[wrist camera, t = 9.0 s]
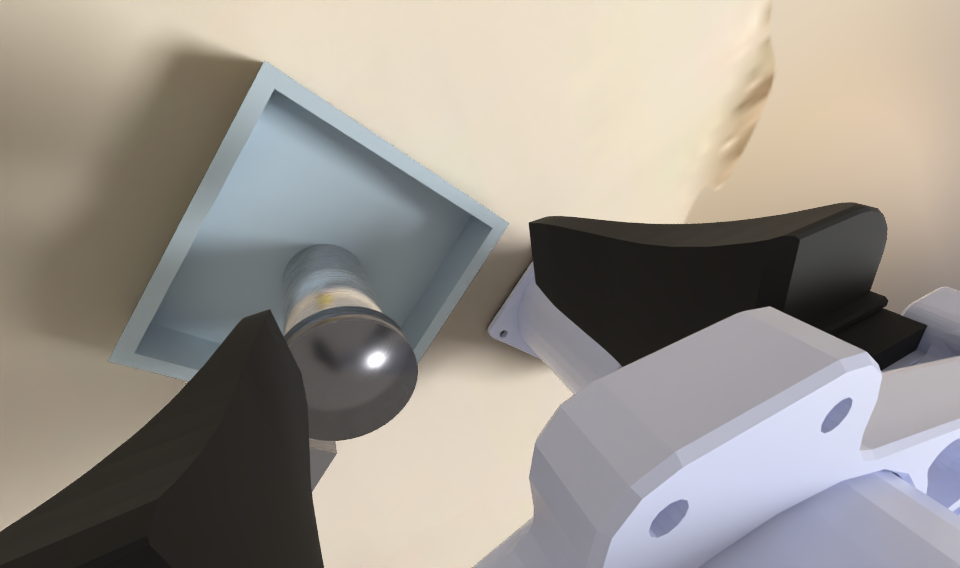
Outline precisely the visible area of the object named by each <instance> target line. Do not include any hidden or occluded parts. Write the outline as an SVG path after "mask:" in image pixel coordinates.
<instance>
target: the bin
mask: <svg viewBox="0 0 960 568" xmlns="http://www.w3.org/2000/svg"><path fill="white" fill-rule="evenodd" d="M508 225H509V223H508V222H507V221H505V220H504V219H502V218H501V217H499V216H498V215H496V214H495V213H493V212H492V211H490V210H489V209H487V208H486V207H484V206H483V205H481V204H480V203H478V202H477V201H475V200H474V199H472V198H471V197H469V196H468V195H466V194H465V193H463V192H462V191H460V190H459V189H457V188H456V187H454V186H453V185H451V184H450V183H448V182H447V181H445V180H444V179H442V178H441V177H439V176H438V175H436V174H435V173H433V172H432V171H430V170H429V169H427V168H426V167H424V166H423V165H421V164H420V163H418V162H417V161H415V160H414V159H412V158H411V157H409V156H408V155H406V154H405V153H403V152H402V151H400V150H399V149H397V148H396V147H394V146H393V145H391V144H390V143H388V142H387V141H385V140H384V139H382V138H380V137H379V136H377V135H376V134H374V133H373V132H371V131H370V130H368V129H367V128H365V127H364V126H362V125H361V124H359V123H358V122H356V121H355V120H353V119H352V118H350V117H349V116H347V115H346V114H344V113H343V112H341V111H340V110H338V109H337V108H335V107H334V106H332V105H331V104H329V103H328V102H326V101H325V100H323V99H322V98H320V97H319V96H317V95H316V94H314V93H313V92H311V91H310V90H308V89H307V88H305V87H304V86H302V85H301V84H299V83H298V82H296V81H295V80H293V79H292V78H290V77H289V76H287V75H286V74H284V73H283V72H281V71H280V70H278V69H277V68H275V67H274V66H272V65H271V64H269V63H268V62H266V61H264V63H263V65H262V67H261V69H260V70H259V72H258V74H257V76H256V78H255V80H254V82H253V84H252V86H251V88H250V90H249V92H248V93H247V95H246V97H245V99H244V101H243V103H242V105H241V107H240V109H239V111H238V113H237V115H236V116H235V118H234V120H233V122H232V124H231V126H230V128H229V130H228V132H227V134H226V136H225V138H224V139H223V141H222V143H221V145H220V147H219V149H218V151H217V153H216V155H215V157H214V159H213V161H212V162H211V164H210V166H209V168H208V170H207V172H206V174H205V176H204V178H203V180H202V182H201V184H200V185H199V187H198V189H197V191H196V193H195V195H194V197H193V199H192V201H191V203H190V205H189V207H188V208H187V210H186V212H185V214H184V216H183V218H182V220H181V222H180V224H179V226H178V228H177V230H176V231H175V233H174V235H173V237H172V239H171V241H170V243H169V245H168V247H167V249H166V251H165V253H164V254H163V256H162V258H161V260H160V262H159V264H158V266H157V268H156V270H155V272H154V274H153V276H152V277H151V279H150V281H149V283H148V285H147V287H146V289H145V291H144V293H143V295H142V297H141V299H140V300H139V302H138V304H137V306H136V308H135V310H134V312H133V314H132V316H131V318H130V320H129V322H128V323H127V325H126V327H125V329H124V331H123V333H122V335H121V337H120V339H119V341H118V343H117V345H116V346H115V348H114V350H113V352H112V354H111V356H110V358H109V360H108V362H112V363H116V364H120V365H124V366H128V367H132V368H136V369H140V370H144V371H148V372H152V373H156V374H160V375H165V376H169V377H173V378H177V379H181V380H185V381H190V380H191V379H192V378H193V377H194V376H195V374H196V373H197V372H198V371H199V370H200V369H201V368H202V367H203V366H204V364H205V363H206V362H207V361H208V360H209V358H210V357H211V356H212V355H213V353H214V352H215V351H216V350H217V349H218V347H219V346H220V345H221V344H222V342H223V341H224V340H225V339H226V337H227V336H228V335H229V334H230V332H231V331H232V330H233V329H234V328H235V326H236V325H237V324H238V323H239V322H240V321H241V320H242V319H243V318H244V317H247V316H250V315H253V314H256V313H259V312H262V311H265V310H268V309H270V310H271V312H272V314H273V316H274V318H275V320H276V322H277V324H278V326H279V328H280V330H281V332H282V334H283V336H284V317H283V274H284V271H285V268H286V266H287V264H288V262H289V261H290V260H291V258H292V257H293V256H294V255H295V254H297V253H298V252H299V251H301V250H303V249H305V248H307V247H309V246H312V245H317V244H333V245H337V246H340V247H343V248H345V249H347V250H349V251H350V252H351V253H353V254H354V255H355V256H356V257H357V259H358V260H359V261H360V263H361V265H362V267H363V269H364V272H365V274H366V276H367V279H368V281H369V283H370V285H371V288H372V290H373V292H374V295H375V297H376V299H377V301H378V304H379V306H380V308H381V311H382V313H383V314H385V315H387V316H388V317H390V318H391V319H392V320H394V321H395V322H396V323H397V324H398V325H399V326H400V328H401V329H402V330H403V332H404V334H405V335H406V337H407V339H408V341H409V343H410V345H411V347H412V350H413V352H414V354H415V357H416V360H417V364H418V362H419V361H420V359H421V358H422V356H423V355H424V353H425V352H426V350H427V349H428V347H429V346H430V344H431V343H432V341H433V339H434V338H435V336H436V335H437V333H438V332H439V330H440V329H441V327H442V326H443V324H444V323H445V321H446V320H447V318H448V317H449V315H450V313H451V312H452V310H453V309H454V307H455V306H456V304H457V303H458V301H459V300H460V298H461V297H462V295H463V294H464V292H465V290H466V289H467V287H468V286H469V284H470V283H471V281H472V280H473V278H474V277H475V275H476V274H477V272H478V271H479V269H480V268H481V266H482V264H483V263H484V261H485V260H486V258H487V257H488V255H489V254H490V252H491V251H492V249H493V248H494V246H495V245H496V243H497V241H498V240H499V238H500V237H501V235H502V234H503V232H504V231H505V229H506V228H507V226H508Z"/></svg>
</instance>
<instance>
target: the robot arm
mask: <svg viewBox="0 0 960 568" xmlns="http://www.w3.org/2000/svg"><path fill="white" fill-rule="evenodd" d="M529 229H530V238H531V247H532V256H533V261H532V263H531V264H530V265H529V267H528V268H527V270H526V271H525V273H524V274H523V276H522V277H521V279H520V280H519V282H518V283H517V285H516V286H515V288H514V289H513V291H512V292H511V294H510V295H509V297H508V298H507V300H506V301H505V303H504V304H503V306H502V307H501V309H500V310H499V312H498V313H497V315H496V316H495V318H494V319H493V321H492V322H491V323H490V325H489V327H488V333H489V335H490V336H491V337H493V338H495V339H497V340H499V341H501V342H503V343H506V344H508V345H510V346H512V347H515V348H517V349H519V350H521V351H523V352H526V353H528V354H530V355H532V356H534V357H537V358H539V359H541V360H542V361H543V362H544V363H545V364H546V365H547V366H548V367H549V368H550V369H551V370H552V371H553V372H554V374H555V375H556V376H557V377H558V378H559V379H560V380H561V381H562V382H563V383H564V384H565V385H566V387H567V388H568V389H569V390H570V391H571V392H572V393H573V394H574V395H573V396H572V397H570V398H569V399H568V400H566V401H565V402H563V403H562V404H561V405H560V406H559V407H558V409H557V410H556V411H555V413H554V414H553V416H552V417H551V419H550V420H549V421H548V423H547V424H546V426H545V427H544V429H543V430H542V431H541V433H540V434H539V436H538V437H537V440H536V442H535V447H534V452H533V458H532V464H531V470H530V475H529V479H530V486H531V492H532V498H533V504H534V517H532V518H531V519H530V520H529V521H527V522H526V523H525V524H524V525H523V526H521V527H520V528H519V529H518V530H517V531H515V532H514V533H513V534H512V535H511V536H509V537H508V538H507V539H506V540H505V541H503V542H502V543H501V544H500V545H499V546H497V547H496V548H495V549H494V550H493V551H491V552H490V553H489V554H488V555H487V556H485V557H484V558H483V559H482V560H481V561H479V562H478V563H477V564H476V565H474V566H473V567H472V568H960V291H958V290H955V289H952V288H948V287H941V288H938V289H936V290H934V291H933V292H931V293H929V294H927V295H925V296H924V297H922V298H920V299H918V300H916V301H914V302H913V303H911V304H910V305H909V306H907V307H906V309H905V310H904V311H903V312H902V313H901V315H899V314H897V313H894V312H891V311H889V310H886V309H883V307H885V306H886V305H887V303H888V300H887V298H886V297H885V296H882V295H879V294H877V293H874V292H871V291H870V289H871V286H872V284H873V281H874V278H875V275H876V272H877V269H878V266H879V263H880V260H881V258H882V255H883V251H884V248H885V244H886V240H887V224H886V221H885V217H884V215H883V214H882V213H881V212H880V211H879V210H878V208H874V207H870V206H866V205H862V204H858V203H838V204H833V205H828V206H823V207H818V208H813V209H808V210H803V211H798V212H793V213H788V214H783V215H776V216H769V217H763V218H755V219H747V220H739V221H729V222H716V223H702V224H644V223H628V222H616V221H606V220H596V219H587V218H577V217H564V216H549V217H545V218H542V219H539V220H536V221H533V222H530V223H529ZM503 330H505V331H504V333H503V334H501V335H500V333H501V332H502V331H503ZM0 568H324V565H323V560H322V554H321V548H320V543H319V537H318V531H317V525H316V518H315V512H314V506H313V500H312V489H311V473H310V447H309V423H308V404H307V399H306V394H305V388H304V384H303V379H302V374H301V371H300V369H299V367H298V365H297V363H296V361H295V359H294V357H293V355H292V353H291V351H290V349H289V347H288V345H287V343H286V341H285V338H284V336H283V334H282V332H281V330H280V328H279V326H278V324H277V322H276V320H275V318H274V316H273V314H272V312H271V310H270V309H268V310H265V311H262V312H259V313H256V314H253V315H250V316H247V317H244V318H243V319H242V320H241V321H240V322H239V323H238V324H237V325H236V326H235V328H234V329H233V330H232V331H231V332H230V334H229V335H228V336H227V337H226V339H225V340H224V341H223V342H222V344H221V345H220V346H219V347H218V349H217V350H216V351H215V352H214V353H213V355H212V356H211V357H210V358H209V360H208V361H207V362H206V363H205V364H204V366H203V367H202V368H201V369H200V370H199V371H198V372H197V373H196V374H195V376H194V377H193V378H192V379H191V380H190V381H189V382H188V383H187V384H186V385H185V387H184V388H183V389H182V390H181V391H180V392H179V393H178V394H177V395H176V396H175V397H174V398H173V399H172V400H171V401H170V402H169V403H168V404H167V405H166V406H165V407H164V408H163V409H162V410H161V411H160V412H159V413H158V414H157V415H156V416H155V417H153V418H152V419H151V420H150V421H149V422H148V423H147V424H146V425H145V426H144V427H143V428H141V429H140V430H139V431H138V432H137V433H136V434H134V435H133V436H132V437H131V438H130V439H128V440H127V441H126V442H125V443H123V444H122V445H121V446H120V447H118V448H117V449H116V450H115V451H113V452H112V453H111V454H109V455H108V456H107V457H106V458H104V459H103V460H102V461H101V462H99V463H98V464H97V465H96V466H94V467H93V468H92V469H91V470H89V471H88V472H87V473H85V474H84V475H83V476H81V477H80V478H78V479H77V480H76V481H74V482H73V483H72V484H70V485H69V486H67V487H66V488H65V489H63V490H62V491H60V492H59V493H58V494H56V495H55V496H53V497H52V498H50V499H49V500H47V501H46V502H44V503H43V504H41V505H40V506H39V507H37V508H36V509H34V510H33V511H31V512H30V513H28V514H27V515H25V516H24V517H22V518H21V519H19V520H18V521H16V522H15V523H13V524H11V525H10V526H8V527H7V528H5V529H4V530H2V531H1V532H0Z"/></svg>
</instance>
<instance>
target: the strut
mask: <svg viewBox="0 0 960 568" xmlns="http://www.w3.org/2000/svg"><path fill="white" fill-rule="evenodd" d="M283 317H284V338H285V341H286V343H287V345H288V347H289V349H290V351H291V353H292V355H293V357H294V359H295V361H296V363H297V365H298V367H299V369H300V371H301V374H302V379H303V384H304V388H305V394H306V399H307V404H308V423H309V438H311V439H315V440H322V441H340V440H347V439H352V438H356V437H360V436H363V435H365V434H368V433H370V432H372V431H374V430H376V429H378V428H380V427H382V426H383V425H385V424H386V423H388V422H389V421H390V420H392V419H393V418H394V417H395V416H396V415H397V414H398V413H399V412H400V411H401V410H402V409H403V408H404V406H405V405H406V404H407V402H408V401H409V399H410V397H411V395H412V394H413V391H414V389H415V386H416V382H417V375H418V366H417V360H416V357H415V354H414V352H413V350H412V347H411V345H410V343H409V341H408V339H407V337H406V335H405V334H404V332H403V330H402V329H401V328H400V326H399V325H398V324H397V323H396V322H395V321H394V320H392V319H391V318H390V317H388V316H387V315H385V314H383V313H382V311H381V308H380V306H379V304H378V301H377V299H376V297H375V295H374V292H373V290H372V288H371V285H370V283H369V281H368V279H367V276H366V274H365V272H364V269H363V267H362V265H361V263H360V261H359V260H358V259H357V257H356V256H355V255H354V254H353V253H351V252H350V251H349V250H347V249H345V248H343V247H340V246H337V245H333V244H317V245H312V246H309V247H307V248H305V249H303V250H301V251H299V252H298V253H297V254H295V255H294V256H293V257H292V258H291V260H290V261H289V262H288V264H287V266H286V268H285V271H284V274H283Z"/></svg>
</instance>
